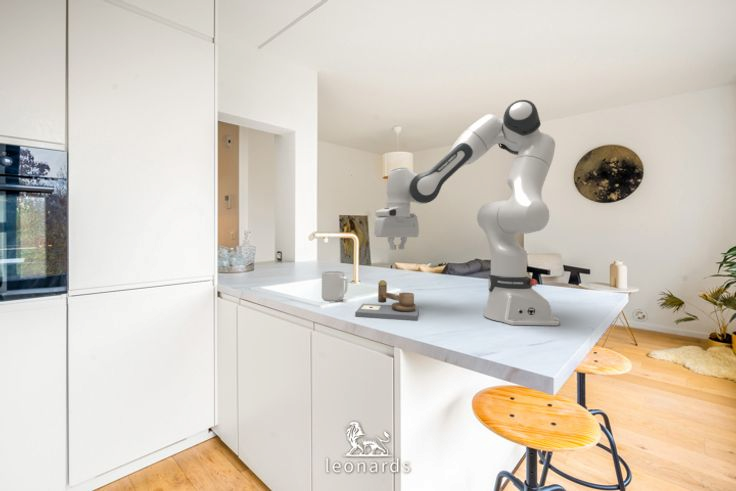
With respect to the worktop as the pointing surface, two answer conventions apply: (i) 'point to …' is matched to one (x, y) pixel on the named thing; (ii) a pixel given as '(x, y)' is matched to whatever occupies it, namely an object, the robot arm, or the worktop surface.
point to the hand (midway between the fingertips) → (397, 249)
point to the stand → (385, 312)
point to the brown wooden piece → (396, 298)
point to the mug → (333, 285)
